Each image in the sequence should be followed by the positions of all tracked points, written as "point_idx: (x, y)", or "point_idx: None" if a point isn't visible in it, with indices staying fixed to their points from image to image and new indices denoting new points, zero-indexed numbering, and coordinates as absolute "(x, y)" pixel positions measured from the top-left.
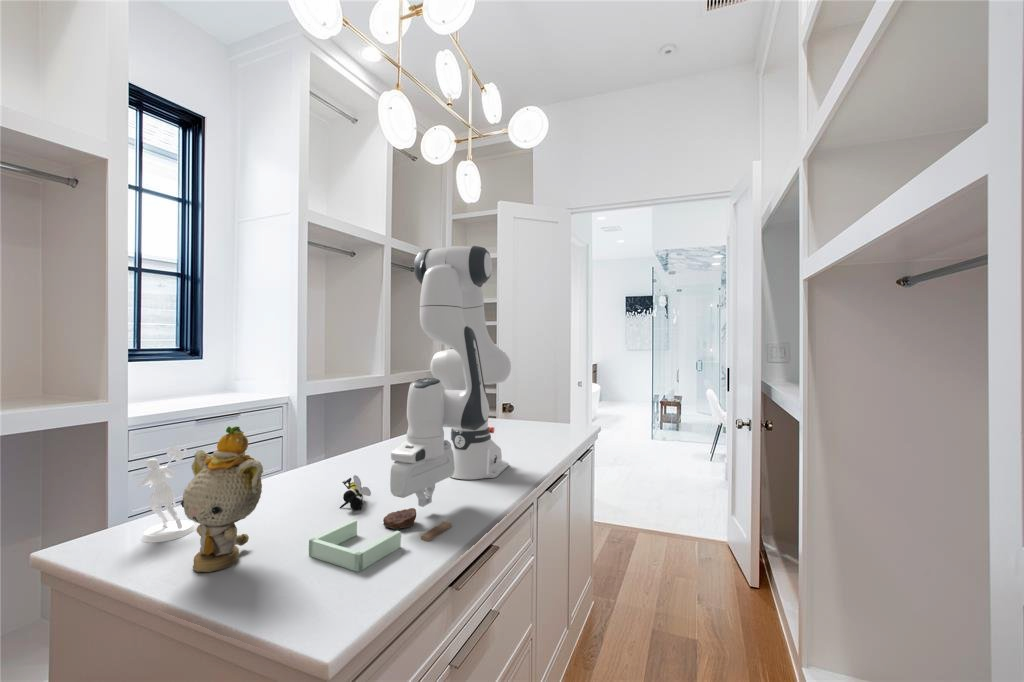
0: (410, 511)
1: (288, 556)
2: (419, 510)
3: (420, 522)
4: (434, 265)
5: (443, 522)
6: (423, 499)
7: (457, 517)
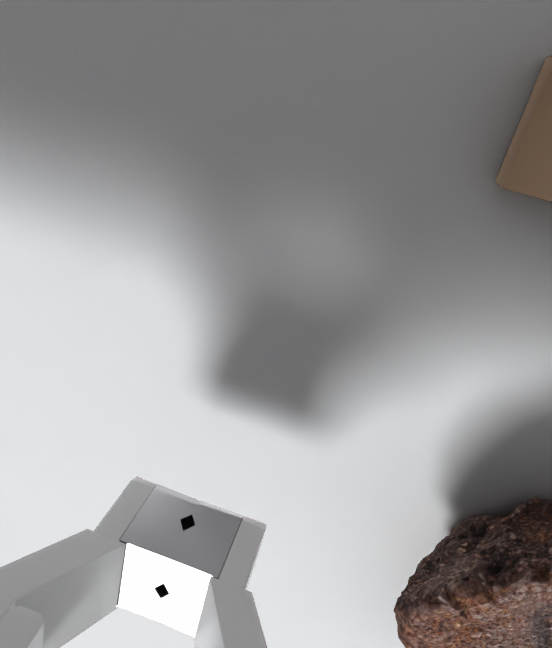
0: (495, 628)
1: None
2: None
3: (441, 446)
4: None
5: (536, 181)
6: (248, 597)
7: (225, 96)
